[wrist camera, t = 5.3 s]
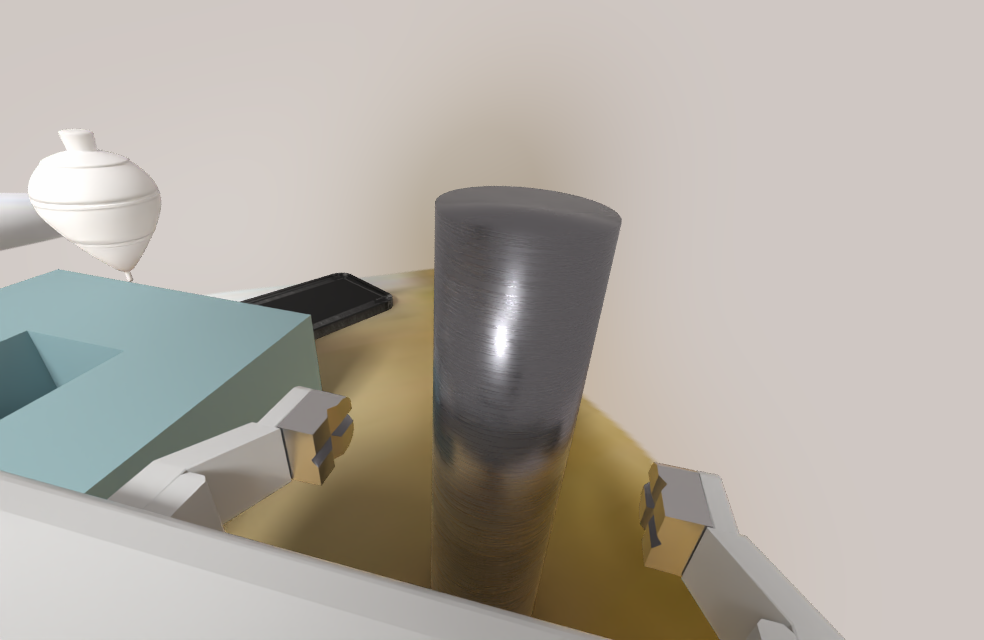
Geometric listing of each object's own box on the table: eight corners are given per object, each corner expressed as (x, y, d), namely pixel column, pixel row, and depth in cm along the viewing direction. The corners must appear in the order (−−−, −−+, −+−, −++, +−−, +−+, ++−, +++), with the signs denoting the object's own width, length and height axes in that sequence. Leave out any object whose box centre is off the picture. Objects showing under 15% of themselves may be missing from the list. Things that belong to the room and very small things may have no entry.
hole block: (-400, 619, 14) (-621, 494, 11) (97, 355, 28) (58, 269, 25) (-4, 781, 11) (-151, 677, 9) (324, 404, 25) (310, 314, 22)
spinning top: (144, 304, 34) (84, 140, 28) (44, 297, 33) (-37, 131, 28) (202, 267, 40) (164, 128, 35) (119, 261, 40) (66, 121, 34)
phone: (398, 297, 36) (203, 372, 26) (398, 309, 37) (208, 387, 26) (342, 270, 40) (155, 325, 30) (343, 281, 41) (160, 339, 30)
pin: (408, 604, 16) (394, 203, 9) (471, 526, 19) (501, 179, 12) (497, 680, 14) (573, 254, 7) (551, 581, 17) (645, 210, 10)
